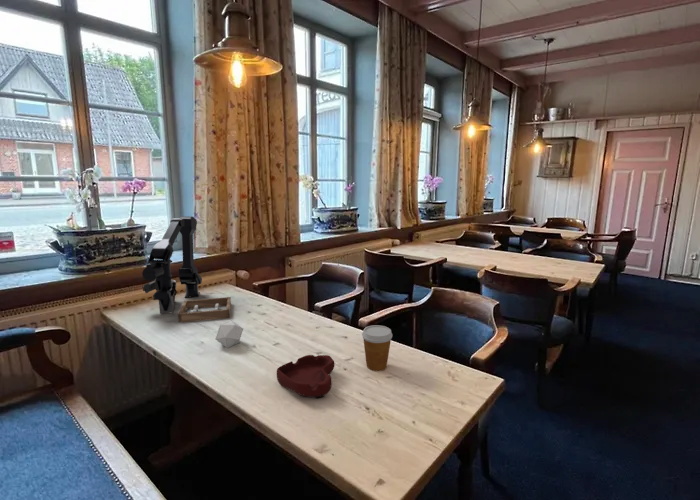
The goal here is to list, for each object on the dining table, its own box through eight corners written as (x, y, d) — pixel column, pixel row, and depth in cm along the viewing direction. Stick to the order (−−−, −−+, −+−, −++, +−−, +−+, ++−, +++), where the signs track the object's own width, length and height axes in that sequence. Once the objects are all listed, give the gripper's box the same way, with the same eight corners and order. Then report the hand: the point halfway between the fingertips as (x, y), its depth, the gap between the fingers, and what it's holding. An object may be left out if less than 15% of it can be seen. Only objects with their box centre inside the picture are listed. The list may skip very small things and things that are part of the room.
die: (245, 348, 133) (249, 321, 137) (224, 344, 127) (228, 315, 131) (230, 351, 138) (234, 324, 142) (209, 347, 131) (213, 319, 136)
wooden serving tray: (184, 308, 172) (184, 300, 171) (230, 304, 177) (230, 297, 177) (178, 322, 155) (177, 314, 154) (229, 317, 160) (229, 309, 160)
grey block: (162, 309, 170) (160, 295, 169) (174, 308, 171) (173, 294, 170) (159, 313, 165) (158, 298, 164) (172, 312, 167) (171, 297, 165)
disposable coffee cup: (356, 362, 122) (356, 327, 120) (382, 357, 126) (383, 322, 123) (369, 376, 113) (370, 339, 111) (397, 370, 117) (398, 333, 115)
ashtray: (283, 368, 119) (282, 353, 118) (335, 369, 118) (335, 354, 117) (269, 401, 101) (269, 384, 100) (330, 402, 101) (330, 385, 100)
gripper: (148, 270, 172) (151, 303, 175) (137, 281, 154) (141, 318, 157) (175, 269, 175) (177, 301, 178) (167, 279, 157) (170, 315, 160)
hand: (167, 308), depth 168 cm, fingers closed on grey block, 5 cm apart
